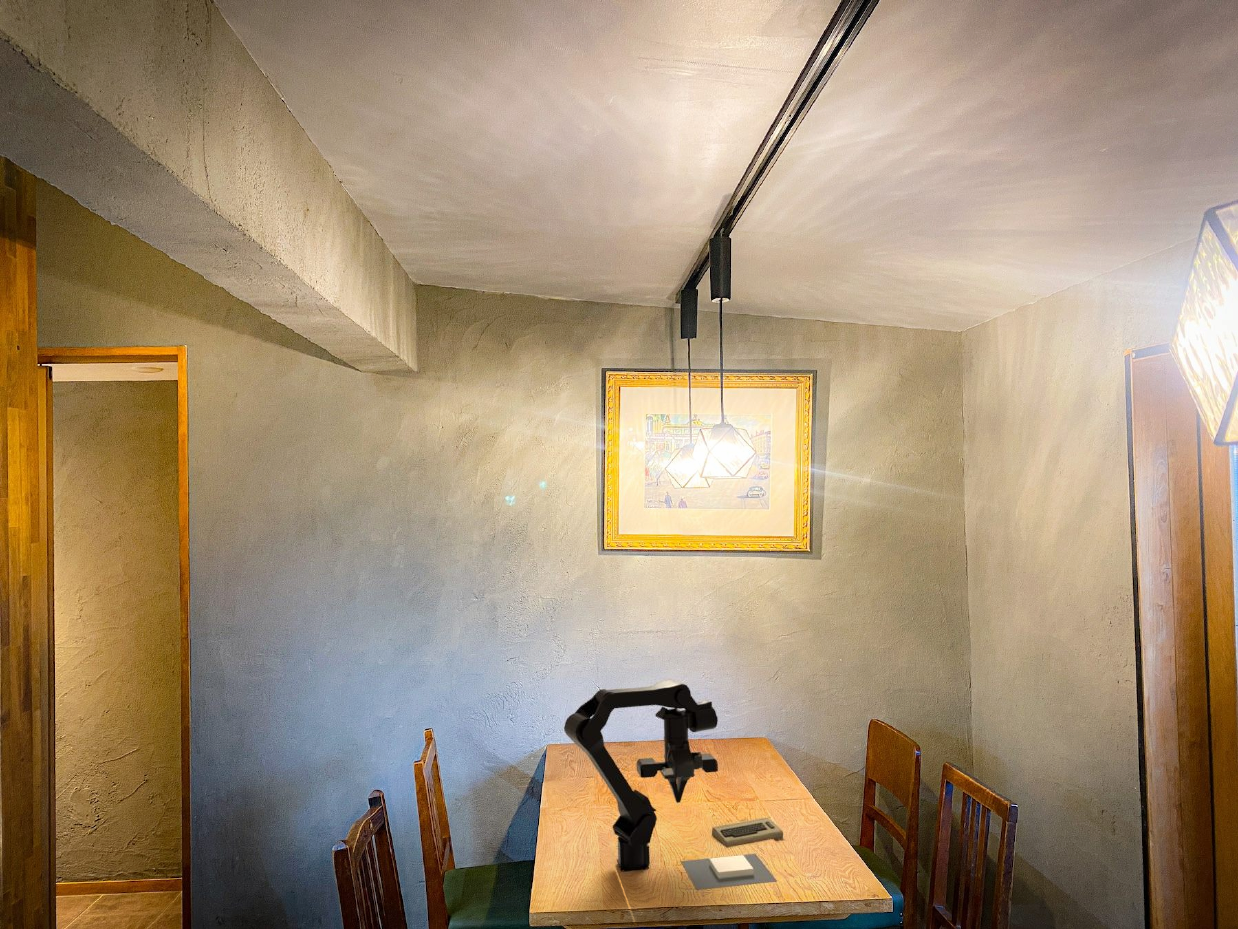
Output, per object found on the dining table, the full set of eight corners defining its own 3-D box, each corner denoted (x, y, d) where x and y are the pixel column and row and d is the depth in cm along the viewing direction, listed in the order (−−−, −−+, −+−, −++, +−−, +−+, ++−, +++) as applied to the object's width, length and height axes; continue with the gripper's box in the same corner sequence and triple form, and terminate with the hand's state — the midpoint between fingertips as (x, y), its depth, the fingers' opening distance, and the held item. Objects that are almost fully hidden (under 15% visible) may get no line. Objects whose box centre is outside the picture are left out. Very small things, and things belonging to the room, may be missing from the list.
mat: (696, 892, 166) (696, 890, 166) (680, 864, 179) (680, 861, 179) (777, 884, 169) (777, 881, 169) (755, 856, 182) (755, 853, 182)
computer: (726, 851, 186) (726, 837, 187) (711, 838, 194) (711, 824, 194) (783, 840, 192) (783, 826, 192) (766, 828, 199) (766, 815, 200)
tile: (718, 872, 170) (753, 868, 171) (709, 858, 177) (743, 855, 178) (718, 879, 170) (753, 875, 171) (709, 865, 177) (743, 862, 178)
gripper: (644, 748, 177) (646, 818, 176) (723, 742, 180) (726, 811, 179) (635, 734, 188) (636, 801, 187) (710, 729, 191) (712, 794, 190)
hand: (678, 802), depth 185 cm, fingers closed
